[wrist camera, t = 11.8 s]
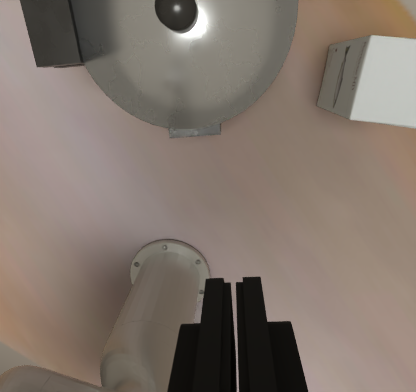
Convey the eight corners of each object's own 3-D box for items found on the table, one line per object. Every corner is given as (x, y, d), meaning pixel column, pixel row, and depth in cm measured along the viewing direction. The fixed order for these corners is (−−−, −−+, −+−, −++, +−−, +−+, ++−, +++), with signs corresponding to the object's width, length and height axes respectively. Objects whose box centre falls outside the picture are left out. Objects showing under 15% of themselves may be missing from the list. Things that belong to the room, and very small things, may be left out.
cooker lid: (294, 119, 30) (304, 126, 26) (64, 137, 32) (41, 146, 28) (296, -146, 23) (309, -190, 20) (6, -102, 26) (-34, -134, 22)
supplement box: (328, 43, 38) (371, 30, 27) (390, 50, 38) (462, 40, 26) (313, 106, 41) (347, 120, 29) (372, 114, 41) (429, 130, 29)
